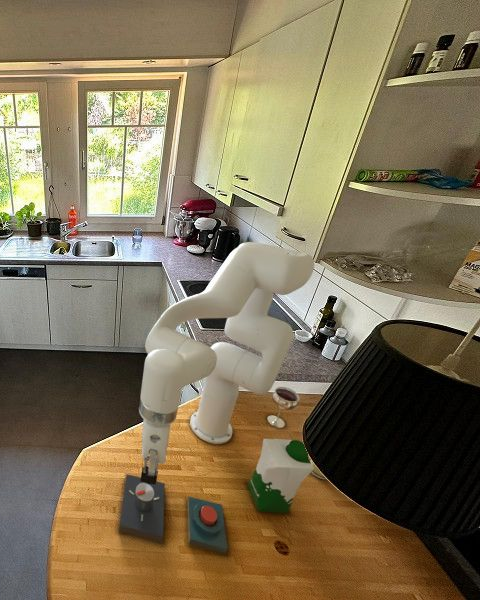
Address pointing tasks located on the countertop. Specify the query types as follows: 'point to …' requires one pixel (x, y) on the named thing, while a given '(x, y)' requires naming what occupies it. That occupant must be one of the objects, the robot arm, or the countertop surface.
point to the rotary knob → (144, 497)
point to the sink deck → (138, 521)
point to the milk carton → (279, 474)
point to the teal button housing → (206, 527)
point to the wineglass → (283, 404)
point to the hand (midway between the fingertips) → (149, 461)
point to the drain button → (208, 515)
